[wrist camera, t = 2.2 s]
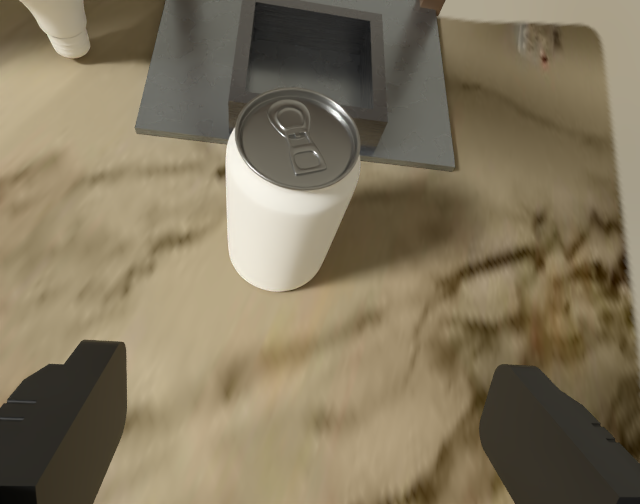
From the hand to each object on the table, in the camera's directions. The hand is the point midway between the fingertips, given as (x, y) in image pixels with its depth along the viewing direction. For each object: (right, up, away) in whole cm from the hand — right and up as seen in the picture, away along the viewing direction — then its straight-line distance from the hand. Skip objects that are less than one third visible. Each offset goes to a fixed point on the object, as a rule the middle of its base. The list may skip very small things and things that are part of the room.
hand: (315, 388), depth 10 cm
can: (-3, +3, +21) cm, 22 cm away
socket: (-1, +19, +29) cm, 35 cm away
